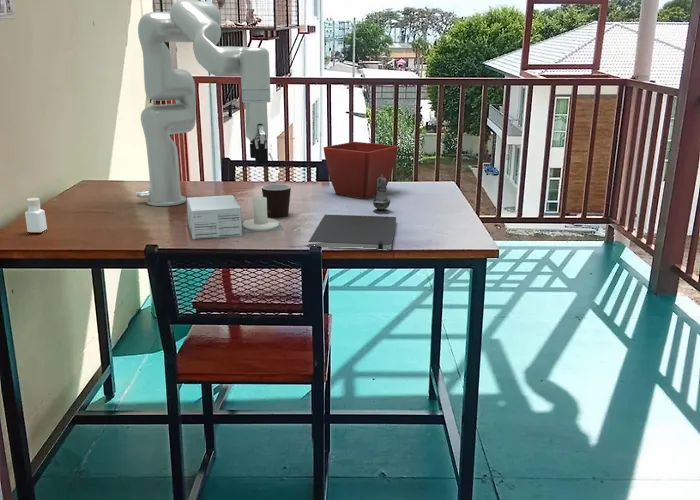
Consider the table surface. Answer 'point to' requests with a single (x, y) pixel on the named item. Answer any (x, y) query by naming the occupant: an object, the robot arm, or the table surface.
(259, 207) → the lid
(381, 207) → the grey stone figurine
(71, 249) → the table surface
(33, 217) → the salt shaker
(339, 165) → the plant pot
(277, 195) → the coffee mug
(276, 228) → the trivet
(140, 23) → the robot arm
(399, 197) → the table surface
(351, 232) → the notebook
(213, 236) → the supplement box
